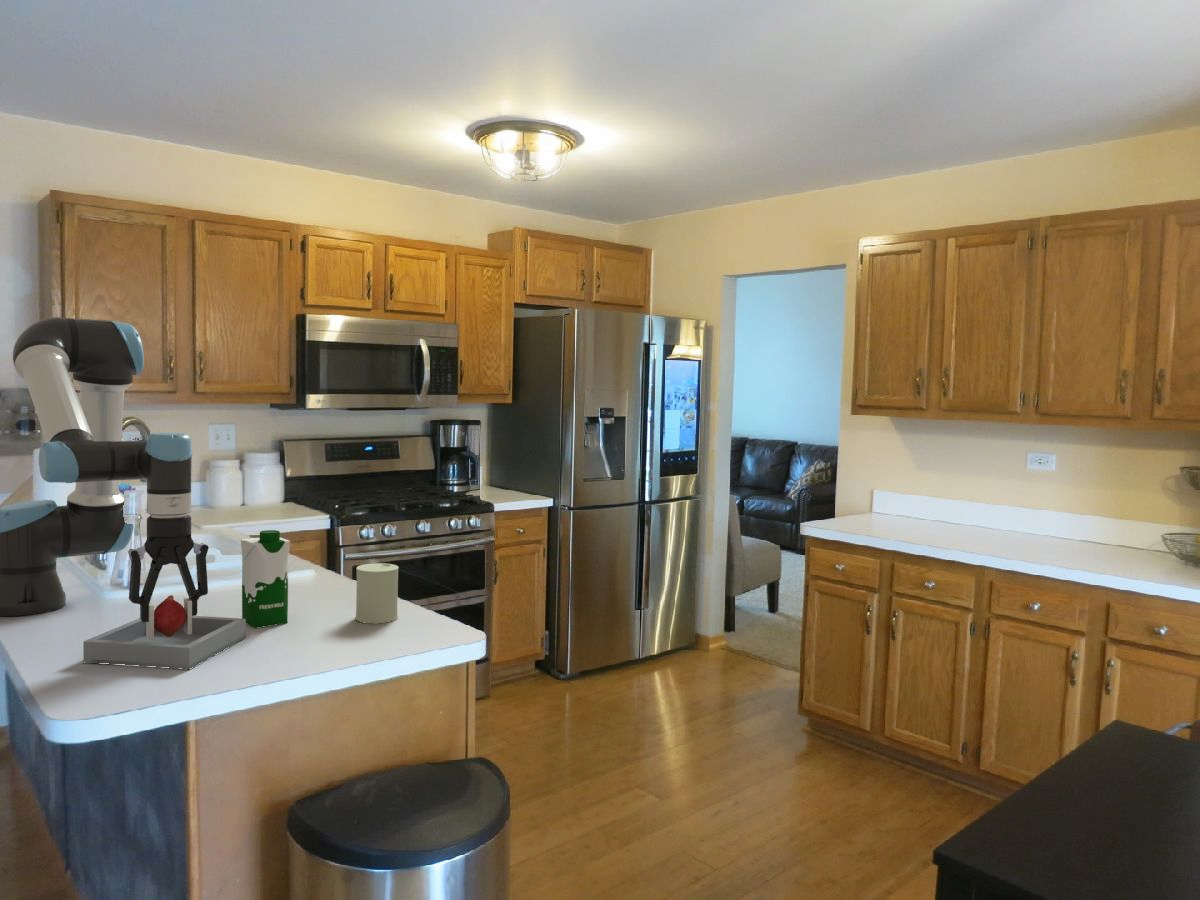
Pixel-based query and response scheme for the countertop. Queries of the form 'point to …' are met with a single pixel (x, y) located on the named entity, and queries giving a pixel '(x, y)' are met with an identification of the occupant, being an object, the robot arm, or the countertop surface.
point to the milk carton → (265, 579)
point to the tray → (165, 643)
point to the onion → (169, 616)
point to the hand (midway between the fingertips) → (169, 635)
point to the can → (377, 593)
